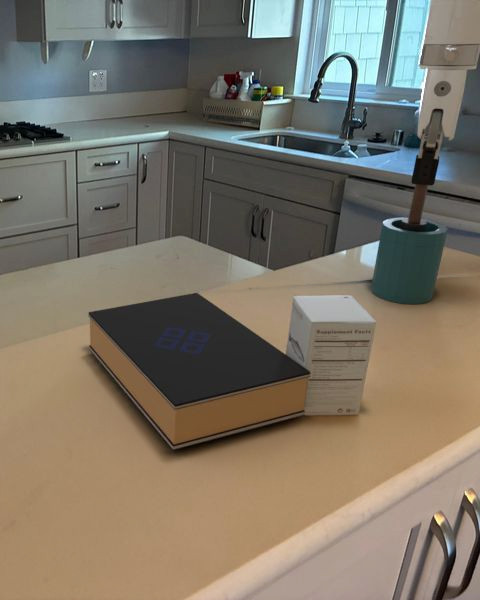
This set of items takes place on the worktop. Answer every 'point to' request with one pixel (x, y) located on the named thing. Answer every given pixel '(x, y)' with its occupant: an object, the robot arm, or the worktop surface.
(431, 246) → the teal pen holder
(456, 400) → the worktop surface
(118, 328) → the book
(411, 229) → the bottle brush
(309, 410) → the white packaging box
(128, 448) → the worktop surface
